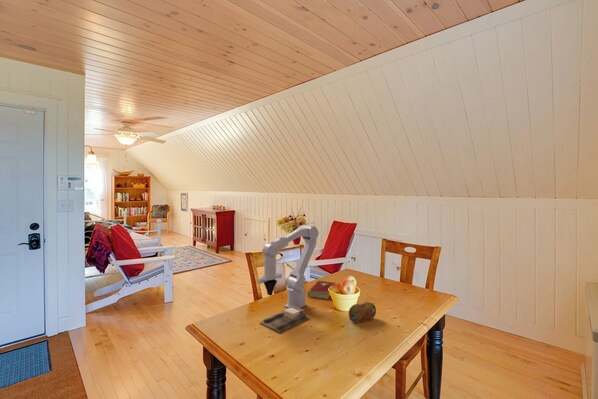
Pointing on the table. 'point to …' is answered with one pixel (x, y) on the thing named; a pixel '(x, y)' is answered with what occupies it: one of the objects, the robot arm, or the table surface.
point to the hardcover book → (320, 289)
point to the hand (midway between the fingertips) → (269, 294)
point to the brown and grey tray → (284, 321)
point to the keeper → (291, 313)
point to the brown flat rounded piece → (362, 312)
